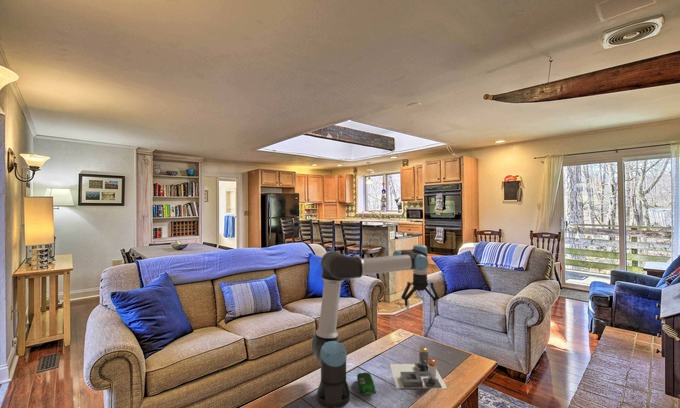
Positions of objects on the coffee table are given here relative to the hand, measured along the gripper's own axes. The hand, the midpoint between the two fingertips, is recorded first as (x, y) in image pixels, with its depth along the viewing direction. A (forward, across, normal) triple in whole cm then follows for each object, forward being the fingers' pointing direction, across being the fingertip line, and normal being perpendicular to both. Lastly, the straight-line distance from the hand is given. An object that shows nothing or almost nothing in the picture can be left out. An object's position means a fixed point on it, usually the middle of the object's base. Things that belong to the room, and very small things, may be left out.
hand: (420, 311), depth 172 cm
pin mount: (+28, -9, -19) cm, 35 cm away
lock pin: (+27, +1, -20) cm, 34 cm away
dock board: (+29, -5, -13) cm, 32 cm away
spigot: (+28, 0, -9) cm, 29 cm away
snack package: (+29, -32, -23) cm, 49 cm away
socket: (+28, 0, -9) cm, 29 cm away
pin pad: (+28, +1, -20) cm, 34 cm away
